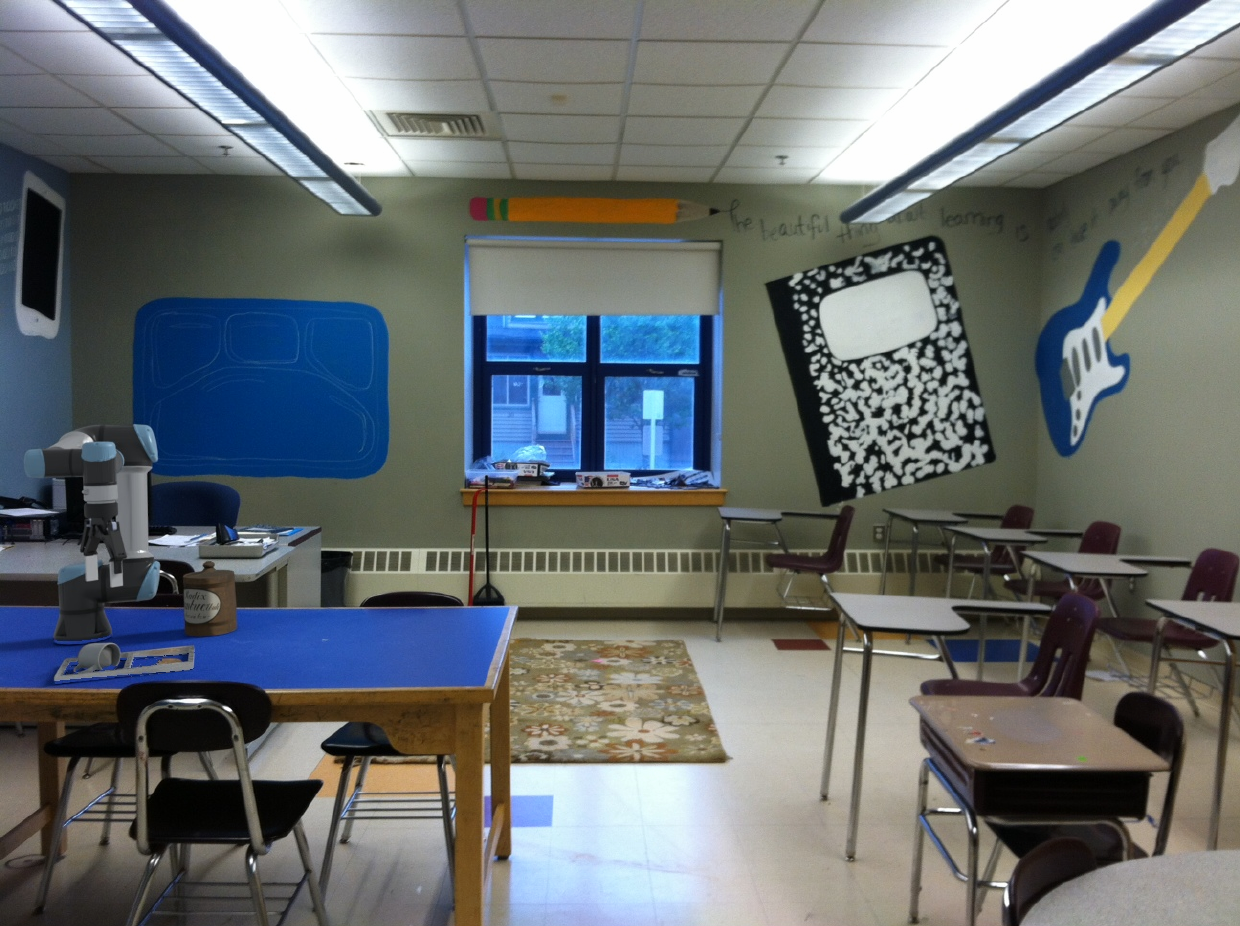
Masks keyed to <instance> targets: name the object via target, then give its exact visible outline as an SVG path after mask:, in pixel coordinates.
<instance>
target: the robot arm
mask: <svg viewBox="0 0 1240 926" xmlns="http://www.w3.org/2000/svg"><path fill="white" fill-rule="evenodd" d="M158 453H159V452H158V447H157V441H156V437H155V433H154V430H153V428H152V427H151V426H150V425H147V424H136V423H134V424H94V425H88V426H87V425H86V426H84V427H83V426H82V427H80V428H76V429H73V430H72V431H71V430H70V431H69V432H65V434H63V435H62V436H61V437H60V439H59V440H58V441H57V442H56V443H55V444H53V445H51V446H49V447H47V448H37V449H35V448H34V449H32V448H31V449H28V450H26V451H25V453H24V457H23V468H24V469H23V470H24V473H25V475H26V476H27V477H28V478H33V479H35V478H36V479H38V478H39V479H47V478H49V479H50V478H79V477H80V478H81V477H82V478H83V490H82V491H81V493H82V494H83V500H84V502H85V503H84V504H83V511H84V514H83V515H84V518H85V519H84V528H83V532H82V538H81V542H80V543H81V544H80V548H79V552H80V553H81V554H83V556H84V561H79V562H76V563H72V564H67V565H65V566H62V567H61V568H60V569H59V571H58V575H57V583H56V584H57V588H58V590H57V591H58V606H59V607H58V609H59V610H58V611H59V615H58V619H57V623H56V626H55V629H54V633H53V638H54V639H55V640H57V641H82V640H91V639H98V638H103V637H107V636H109V635H111V634H112V635H113V628H112V626H111V623H110V621H109V618H108V617H107V614H106V611H105V609H106V608H105V604H111V603H112V604H113V603H125V602H126V603H127V602H128V603H129V602H141V601H149V600H152V599H153V598H154V597H155V596H156V594H157V591H158V587H159V582H160V572H161V570H160V569H161V564H160V562H159V561H157V560H155V555H154V554H153V553H152V552H150V551H149V516H148V513H149V512H148V511H149V510H148V505H149V504H148V472H150V471H151V470H152V469H153V463H156V462H158V461H159V456H158ZM113 518H115V521H113ZM101 541H103V543H104V545H105V548H106V550H107V553H108V555H109V557H110V558H109V559H108V562H109V563H108V564H104V561H103V560H102V559H98V555H99V553H98V551H97V549H98V547H99V545H100V542H101Z"/></svg>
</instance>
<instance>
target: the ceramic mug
mask: <svg viewBox="0 0 1240 926" xmlns="http://www.w3.org/2000/svg"><path fill="white" fill-rule="evenodd" d="M121 653H122V652H121V649H120V647H119V646H118V644H116V643H113V642H94V643H88V644H84V645H83V646H82V647H81V649H80V650H79V652H78V655H77V657H78V663H79V664H78V665H77V666H74V668H73V673H74V672H76V670H77V669H80V668H81V669H83V668H88V669H84V670H82V671H78V672H76V673H87V672H93V671H94V672H96V671H95V670H103V669H102V668H103V667H108V666H110V665H113V666H117V667H118V665H119V664H120V662H121V661H120V657H121ZM81 669H80V670H81Z"/></svg>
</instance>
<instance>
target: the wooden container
mask: <svg viewBox="0 0 1240 926" xmlns="http://www.w3.org/2000/svg"><path fill="white" fill-rule="evenodd" d="M215 565H216V563H215V562H214V561H212V560H207V561H205V562H203V563H202V568H203V569H201V571H194V572H189V573H185V574H183V576H182V583H183V584H182V586H183V616H184V619H183V620H184V634H185V635H186V636H188V637H193V636H195V638H196V637H198V638H199V637H200V638H201V637H202V638H204V637H206V636H207V637H213V636H214V637H215V636H220V635H221V636H223V635H226V634H229V633H233V632H234V631H236V630H237V629H238V614H237V612H238V611H237V609H238V608H237V597H236V596H237V595H236V594H237V593H236V583H235V582H236V581H235V580H236V578H235V577H236V576H235V571H233V570H230V569H216V568H215Z"/></svg>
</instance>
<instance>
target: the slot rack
mask: <svg viewBox="0 0 1240 926" xmlns="http://www.w3.org/2000/svg"><path fill="white" fill-rule="evenodd" d="M194 652H195V644H192V645H182V646H173V647H165V648H164V647H163V648H155V649H145V650H144V649H143V650H136V651H135V650H133V651H125V652H120V653H121V657H120V658H127V660H126V661H124V662H125V663H124V666H123V668H115V669H114V670H105V671H94V672H87V673H78V674H75V673H71V674H70V673H69V674H66V675H63V674H64V672H65V670H66V668H67V666H68V665H69V663H70V662H77V661H78V656H76V657H68V658H67V657H66V658H64V660H63V662H62V663H61V665H60V667H59V669H58V670H57V672H56V673H55V675H54V677H53V681H60V680H70V679H81V678H92V677H107V676H117V675H128V674H129V675H130V674H142V673H156V672H166V673H171V672H170V671H175V672H182V670H184V671H191V670H190V669H193V668H194V666H195V653H196V652H195V653H194ZM187 653H189V654H187ZM179 654H182V655H188V659H187V661H182V660H181V659H179V658H161V659H162V661H160V660H159V661H158V662H159V663H156V664H157V665H155V664H154V665H151V666H142V667H140V666H134V667H133V664H132V662H133V663H134V661H133V659H134V657H147V656H163V657H167V656H166V655H173V656H179ZM164 655H165V656H164ZM131 665H132V668H131ZM193 670H194V669H193Z"/></svg>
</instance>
